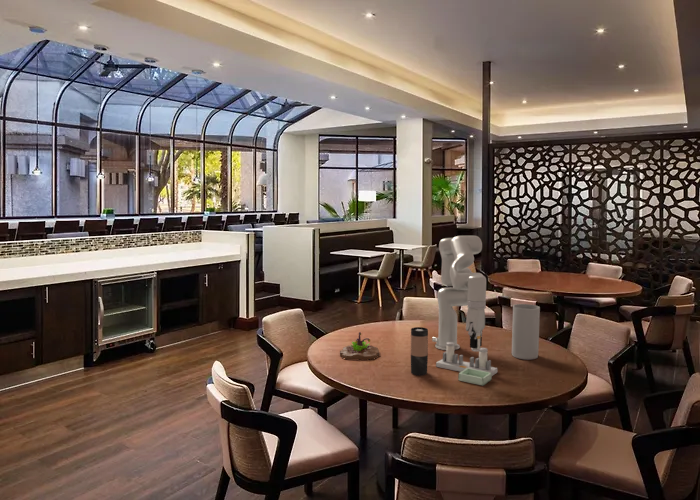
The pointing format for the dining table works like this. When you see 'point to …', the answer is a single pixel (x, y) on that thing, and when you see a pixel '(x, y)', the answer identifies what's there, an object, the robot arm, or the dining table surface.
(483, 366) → the fuse right
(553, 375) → the dining table surface
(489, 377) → the tray
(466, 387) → the dining table surface
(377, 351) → the plant
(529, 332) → the cylinder vase
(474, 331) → the fuse marked
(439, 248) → the robot arm
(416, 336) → the travel mug
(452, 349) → the cylinder
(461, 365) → the holder
